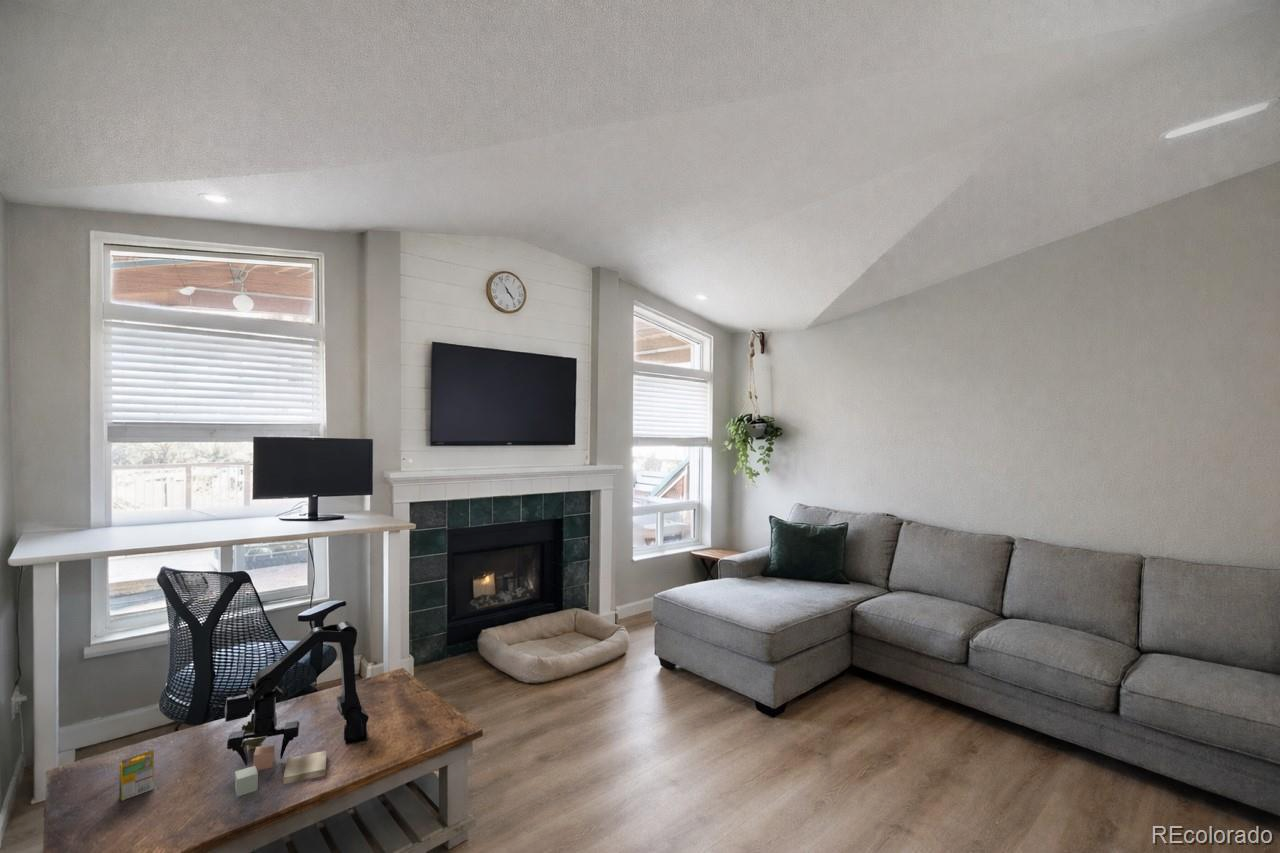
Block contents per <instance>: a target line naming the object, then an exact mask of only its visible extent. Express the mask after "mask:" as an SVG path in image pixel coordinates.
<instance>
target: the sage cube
mask: <svg viewBox="0 0 1280 853" xmlns="http://www.w3.org/2000/svg"><path fill="white" fill-rule="evenodd" d="M258 774H259V773H258V770H257V769H256V766H253V765H252V766H249V767H245V768H243V769H238V770H235V772H234V790H235V794H236V797H241V796H244V795H247V794H249V793H253V792H256V791H258V790H259V789H258V781H259V779H258V777H259V775H258Z"/></svg>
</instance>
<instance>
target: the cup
mask: <svg viewBox="0 0 1280 853" xmlns="http://www.w3.org/2000/svg"><path fill="white" fill-rule="evenodd" d="M241 730H245V731H246V734H248V733H254V724H252V725H251V720H248V722H247V723H246V724H242V726H241ZM266 739H267V737H265V738H259V739H253V740H248V741H247V746H248V747H247V749H248V750H249V751H255V749H256V747H260V746H263V744H262V743H263V742H264V741H265V740H266Z"/></svg>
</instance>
